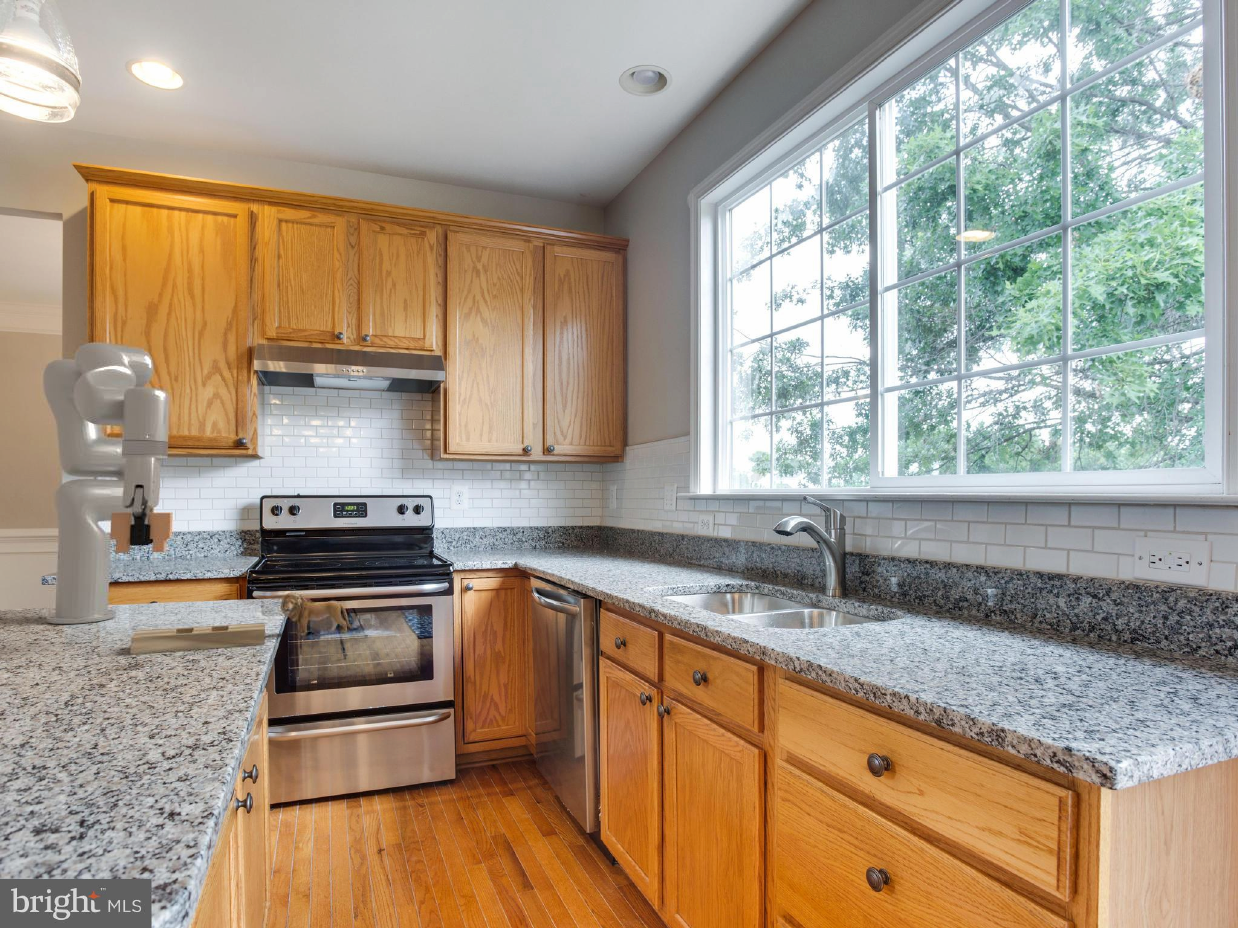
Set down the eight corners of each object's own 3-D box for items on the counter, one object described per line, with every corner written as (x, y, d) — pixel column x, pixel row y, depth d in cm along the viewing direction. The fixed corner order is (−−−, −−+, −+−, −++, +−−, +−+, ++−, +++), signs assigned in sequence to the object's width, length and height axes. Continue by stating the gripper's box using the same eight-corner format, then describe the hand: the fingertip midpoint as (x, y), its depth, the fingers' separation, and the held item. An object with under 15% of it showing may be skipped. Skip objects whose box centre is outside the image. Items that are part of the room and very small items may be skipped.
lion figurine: (280, 638, 145) (282, 594, 146) (278, 633, 150) (279, 591, 150) (356, 632, 153) (357, 590, 153) (351, 628, 157) (353, 587, 158)
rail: (136, 646, 136) (137, 630, 136) (264, 637, 146) (265, 622, 146) (130, 654, 130) (131, 637, 130) (264, 644, 140) (265, 629, 140)
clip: (113, 551, 138) (115, 512, 139) (171, 550, 143) (172, 512, 143) (109, 553, 135) (111, 513, 136) (168, 551, 139) (170, 513, 140)
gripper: (130, 452, 145) (126, 541, 145) (113, 448, 131) (109, 548, 130) (172, 453, 149) (169, 541, 148) (161, 449, 134) (157, 547, 133)
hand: (141, 543), depth 139 cm, fingers closed on clip, 3 cm apart
